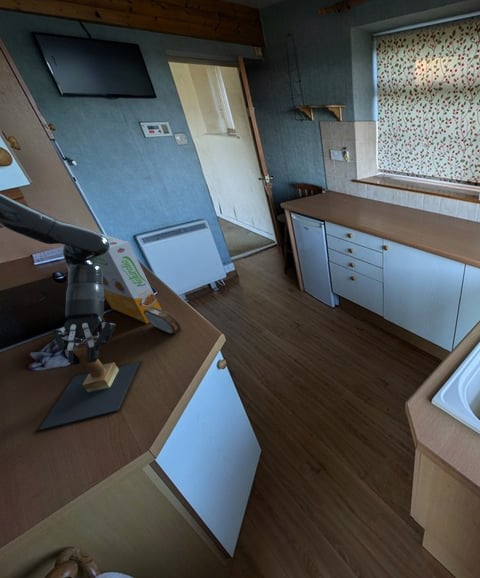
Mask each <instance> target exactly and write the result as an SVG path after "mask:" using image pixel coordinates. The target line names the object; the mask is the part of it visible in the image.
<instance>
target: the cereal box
mask: <svg viewBox="0 0 480 578" xmlns="http://www.w3.org/2000/svg"><path fill="white" fill-rule="evenodd" d="M98 233H99V234H101V235H102V236H104V237H105V238H106V239H107V240H108V242H109V245H110V248H109V250H108V252H107V253H105V254H103V255H101V256H98V257H95V258H94V265H97V266H99V267H100V268H101V269H102V270H103V290H104V299H105V300H106V301H107V303H108V305H109V307H110V309H111V310H112V309H113V310H114V311H117V312H120V313H122V314H123V315H126V316H129V317H131V318H133V319H135V320H138V321H140V322H142V323H145V324H149V323H150V322H149V321H148V319H147V317H146V316H145V314H144V311H145V310H146V309H148V308H150V307H151V306H153V307H155V308H158V309H160V310H162V308H161V305H160V303H159V301H158V299H157V297H156V295H155V292H154V290H153V288H152V287H151V285H150V282H149V281H148V279H147V277H146V274H145V272H144V270H143V268H142V266H141V264H140V262H139V260H138V257H137V255H136V253H135V252H134V249H133V247H132V244H131V243H130V242H129V241H127V240H123V239H120V238H117V237H113V236H110V235H108V234H107V235H106V234H104V233H100V232H98Z"/></svg>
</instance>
